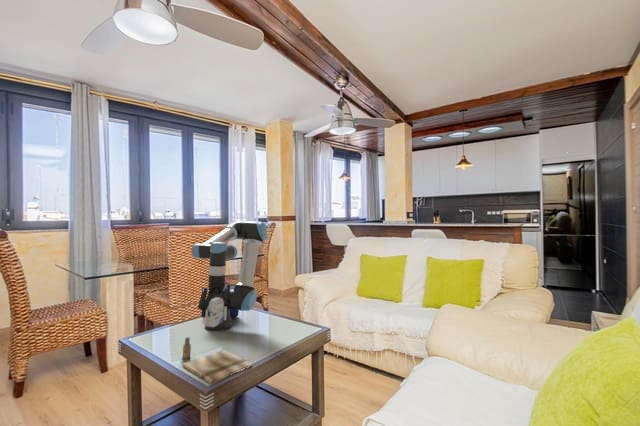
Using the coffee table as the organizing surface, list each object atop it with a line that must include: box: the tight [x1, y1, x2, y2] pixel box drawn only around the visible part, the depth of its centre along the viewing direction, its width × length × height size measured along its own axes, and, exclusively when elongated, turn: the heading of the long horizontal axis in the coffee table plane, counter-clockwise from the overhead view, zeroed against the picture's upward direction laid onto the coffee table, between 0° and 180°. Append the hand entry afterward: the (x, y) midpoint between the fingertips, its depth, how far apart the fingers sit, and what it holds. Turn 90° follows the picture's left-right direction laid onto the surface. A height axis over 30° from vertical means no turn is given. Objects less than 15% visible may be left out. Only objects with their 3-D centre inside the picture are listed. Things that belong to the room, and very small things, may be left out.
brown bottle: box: [182, 336, 192, 361], centre depth 144 cm, size 3×3×9 cm
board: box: [182, 349, 253, 384], centre depth 137 cm, size 20×21×1 cm
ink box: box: [204, 297, 224, 327], centre depth 153 cm, size 9×5×12 cm, turn 168°
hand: (214, 321), depth 153 cm, fingers closed on ink box, 9 cm apart
